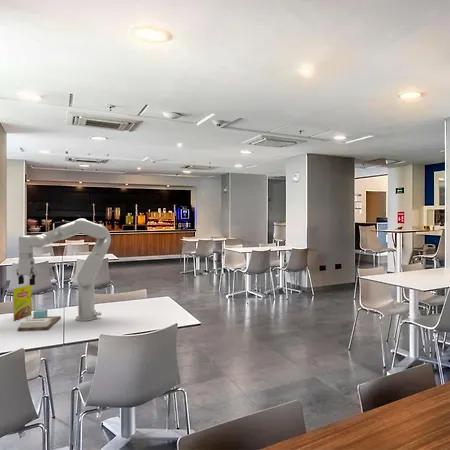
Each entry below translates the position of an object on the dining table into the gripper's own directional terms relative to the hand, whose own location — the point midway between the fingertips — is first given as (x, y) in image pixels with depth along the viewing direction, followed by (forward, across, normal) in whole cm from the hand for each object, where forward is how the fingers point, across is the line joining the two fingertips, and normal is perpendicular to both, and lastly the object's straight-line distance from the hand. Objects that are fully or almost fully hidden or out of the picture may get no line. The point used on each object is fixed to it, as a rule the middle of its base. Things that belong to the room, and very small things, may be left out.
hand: (26, 284), depth 224 cm
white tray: (+22, -14, +5) cm, 26 cm away
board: (+23, -10, -1) cm, 25 cm away
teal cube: (+22, -10, -1) cm, 24 cm away
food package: (+24, +12, -6) cm, 27 cm away
